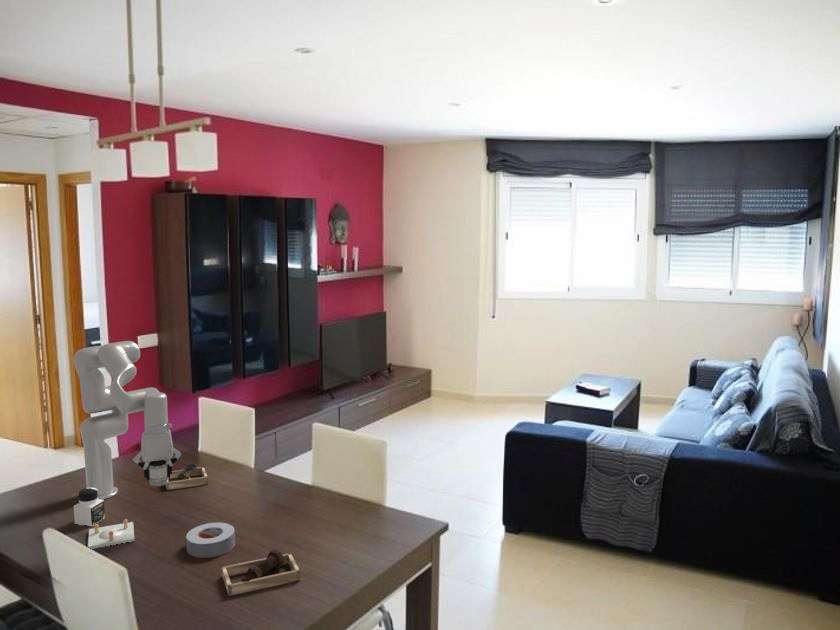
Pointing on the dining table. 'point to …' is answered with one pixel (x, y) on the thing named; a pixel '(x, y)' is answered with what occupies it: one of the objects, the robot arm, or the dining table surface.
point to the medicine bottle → (89, 508)
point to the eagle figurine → (186, 472)
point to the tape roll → (210, 540)
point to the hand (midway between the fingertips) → (158, 477)
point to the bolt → (264, 566)
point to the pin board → (111, 535)
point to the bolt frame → (258, 582)
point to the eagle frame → (187, 482)
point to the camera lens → (158, 473)
